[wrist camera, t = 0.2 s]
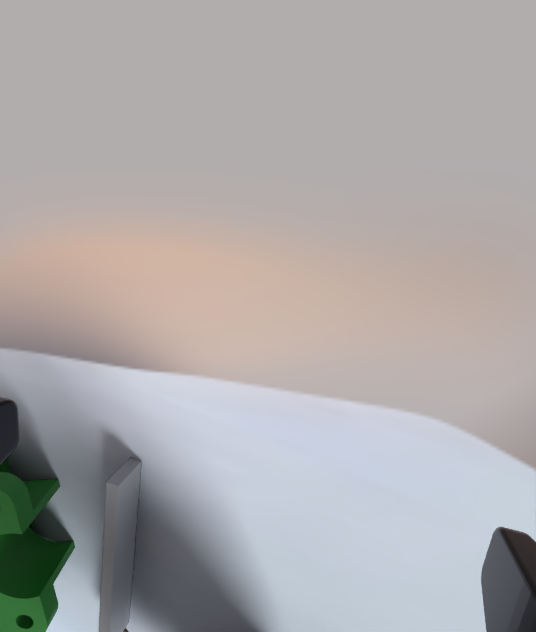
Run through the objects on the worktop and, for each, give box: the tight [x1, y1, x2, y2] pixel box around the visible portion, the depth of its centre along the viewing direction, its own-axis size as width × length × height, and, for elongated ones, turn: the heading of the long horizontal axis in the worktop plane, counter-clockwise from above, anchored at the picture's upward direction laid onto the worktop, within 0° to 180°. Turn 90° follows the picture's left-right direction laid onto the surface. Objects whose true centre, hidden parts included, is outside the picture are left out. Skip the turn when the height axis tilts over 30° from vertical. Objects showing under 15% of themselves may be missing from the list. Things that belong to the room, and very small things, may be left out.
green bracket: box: [0, 458, 75, 632], centre depth 28 cm, size 12×6×9 cm, turn 1°
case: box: [99, 458, 142, 632], centre depth 29 cm, size 14×16×2 cm
